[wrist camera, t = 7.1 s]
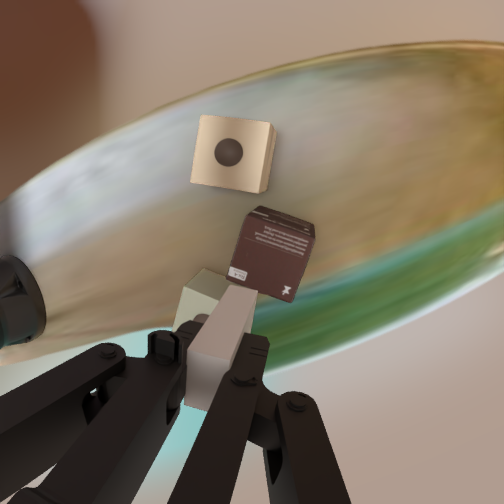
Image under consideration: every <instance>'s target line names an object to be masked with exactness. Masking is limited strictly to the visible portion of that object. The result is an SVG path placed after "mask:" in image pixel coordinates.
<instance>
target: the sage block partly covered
mask: <svg viewBox="0 0 504 504" xmlns="http://www.w3.org/2000/svg"><path fill="white" fill-rule="evenodd" d="M230 285H234V286H239V287H243V288H247V287H244V286H241V285H238V284H235V283H233V282H230V281H227V280H226V277H224V276H222V275H220V274H217V273H215V272H212V271H210V270H207V269H205V268H203V269H202V270H201V271H200V272H199V273H198V274H196V275H195V276H194V277H193V278H192V279H191V280H190V281H189V282H188V283H187V284H186V285H185V286H184V288H183V291H182V295H181V299H180V302H179V306H178V310H177V313H176V317H175V321H174V325H173V329H172V332H175V331H177V329H178V328H179V326H180V325H181V324H182V323H184V322H186V321H189V320H192V321H196V322H200V323H205V322H206V320H207V319H208V317H209V316H210V314H211V313H212V311H213V310H214V308H215V307H216V305H217V304H218V302H219V301H220V299H221V298H222V296H223V295H224V293H225V292H226V290H227V289H228V287H229V286H230ZM248 289H249V288H248Z"/></svg>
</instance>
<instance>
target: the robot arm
mask: <svg viewBox="0 0 504 504" xmlns="http://www.w3.org/2000/svg"><path fill="white" fill-rule="evenodd" d="M257 294H258V290H253V289H248V288H243V287H239V286H234V285H230V286H229V287H228V289H227V290H226V292H225V293H224V295H223V296H222V298H221V299H220V301H219V302H218V304H217V305H216V307H215V308H214V310H213V311H212V313H211V314H210V316H209V317H208V319H207V320H206V322H205V323H200V322H196V321H192V320H189V321H186V322H184V323H182V324H181V325H180V326H179V328H178V329H177V331H175V332H172V331H167V330H158V331H154V332H151V333H150V334H149V335H148V354H147V355H146V356H145V358H136V357H128V356H126V353H125V350H124V349H123V348H122V347H121V346H119V345H117V344H114V343H101V344H98V345H96V346H94V347H92V348H90V349H88V350H86V351H85V352H83V353H81V354H79V355H77V356H75V357H74V358H72V359H70V360H68V361H66V362H64V363H63V364H61V365H58V366H57V367H55V368H53V369H51V370H49V371H47V372H45V373H43V374H42V375H40V376H38V377H36V378H34V379H32V380H30V381H28V382H27V383H25V384H23V385H21V386H19V387H17V388H15V389H14V390H11V391H10V392H8V393H6V394H4V395H2V396H0V502H2V501H3V500H5V499H6V498H8V497H9V496H11V495H12V494H13V493H15V492H17V491H18V490H19V491H18V492H17V493H15V495H14V496H13V497H12V498H11V499H10V501H9V502H8V503H7V504H131V503H132V501H133V499H134V497H135V495H136V494H137V492H138V490H139V488H140V486H141V484H142V482H143V481H144V479H145V477H146V475H147V473H148V471H149V469H150V468H151V466H152V464H153V462H154V460H155V458H156V456H157V455H158V453H159V451H160V449H161V447H162V445H163V443H164V441H165V440H166V437H167V436H168V434H169V432H170V430H171V428H172V426H173V424H174V423H175V420H176V419H177V417H178V415H179V412H180V403H181V401H182V399H183V398H184V405H186V406H190V407H193V408H197V409H201V410H204V411H207V414H206V417H205V419H204V421H203V424H202V426H201V429H200V431H199V433H198V435H197V438H196V440H195V442H194V444H193V447H192V449H191V451H190V454H189V456H188V458H187V460H186V463H185V465H184V467H183V469H182V471H181V474H180V476H179V478H178V480H177V483H176V485H175V487H174V489H173V492H172V494H171V496H170V498H169V501H168V502H167V504H230V501H231V497H232V494H233V490H234V487H235V483H236V479H237V476H238V472H239V468H240V465H241V461H242V457H243V453H244V450H245V446H246V442H247V440H248V441H250V442H252V443H254V444H256V445H258V446H260V447H262V448H263V456H264V463H265V471H266V478H267V485H268V492H269V498H270V504H351V501H350V498H349V495H348V492H347V490H346V487H345V484H344V481H343V478H342V475H341V472H340V469H339V466H338V464H337V461H336V458H335V455H334V452H333V449H332V446H331V444H330V441H329V438H328V435H327V432H326V429H325V426H324V423H323V421H322V418H321V415H320V412H319V409H318V407H317V404H316V402H315V401H314V399H313V398H311V397H310V396H309V395H307V394H304V393H302V392H296V391H291V392H286V393H284V394H281V396H279V395H277V394H275V393H273V392H271V391H269V390H268V389H267V388H266V387H265V385H264V384H263V381H262V377H263V372H264V368H265V363H266V359H267V355H268V350H269V346H270V343H269V341H268V339H267V337H264V336H259V335H254V334H250V332H251V327H252V322H253V316H254V311H255V305H256V300H257ZM44 327H45V308H44V303H43V299H42V296H41V293H40V291H39V288H38V286H37V284H36V281H35V280H34V278H33V276H32V274H31V273H30V271H29V270H28V269H27V267H26V266H25V265H24V264H23V263H22V262H21V261H20V260H19V259H17V258H16V257H14V256H10V255H7V256H4V257H1V258H0V349H1V348H3V347H5V346H11V345H17V344H22V343H27V342H30V341H32V340H34V339H35V338H37V337H38V336H40V335H41V334H42V332H43V330H44ZM95 388H96V391H95V392H94V393H90V392H91V391H92V390H94V389H95ZM55 464H56V465H55ZM54 465H55V467H54V468H53V469H52V470H51V472H50V473H49V474H48V476H47V477H46V478H45V479H44V480H43V482H42V483H41V484H40V485H39V486H38V487H36V488H29V487H25V488H23V489H21V488H22V487H24V486H25V485H27V484H28V483H30V482H31V481H32V480H34V479H35V478H37V477H38V476H40V475H41V474H43V473H44V472H45V471H47V470H48V469H49V468H51V467H52V466H54Z"/></svg>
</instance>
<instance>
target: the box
mask: <svg viewBox="0 0 504 504" xmlns="http://www.w3.org/2000/svg"><path fill="white" fill-rule="evenodd" d="M314 242H315V230H314V225H313V224H311V223H309V222H306V221H303V220H301V219H298V218H295V217H292V216H290V215H287V214H284V213H281V212H278V211H275V210H272V209H268V208H266V207H263V206H259V207H257V208H256V209H254V210H253V211H252V212H250V213H249V214H248V215H246V216H245V220H244V222H243V225H242V228H241V232H240V235H239V238H238V242H237V245H236V248H235V251H234V254H233V258H232V261H231V264H230V267H229V270H228V274H227V277H226V280H227V281H230V282H233V283H235V284H238V285H241V286H244V287H247V288H249V289H253V290H258V293H261V294H266V295H269V296H272V297H275V298H277V299H280V300H283V301H286V302H289V303H291V302H292V301H293V299H294V296H295V294H296V291H297V288H298V286H299V283H300V280H301V278H302V275H303V273H304V270H305V268H306V265H307V262H308V259H309V256H310V253H311V250H312V247H313V245H314Z"/></svg>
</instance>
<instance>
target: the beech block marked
mask: <svg viewBox="0 0 504 504" xmlns="http://www.w3.org/2000/svg"><path fill="white" fill-rule="evenodd" d="M276 135H277V132H276V130H275V129H274V127H273V126H272V124H271V123H269V122H262V121H255V120H247V119H239V118H230V117H221V116H210V115H201V117H200V123H199V129H198V134H197V140H196V147H195V153H194V159H193V166H192V173H191V180H190V182H191V183H197V184H204V185H210V186H217V187H223V188H229V189H235V190H241V191H246V192H252V193H258V194H259V193H261V192H264V191H266V190H267V187H268V181H269V176H270V170H271V164H272V158H273V152H274V146H275V141H276Z"/></svg>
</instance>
